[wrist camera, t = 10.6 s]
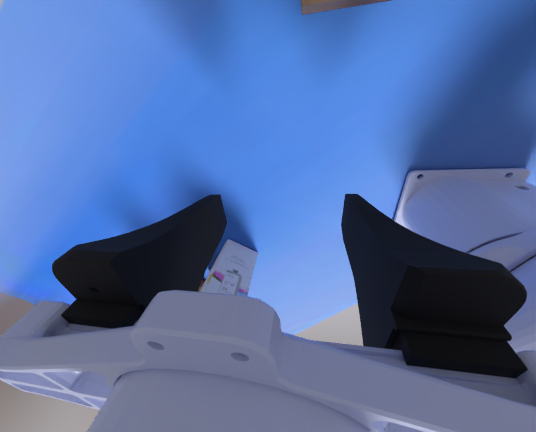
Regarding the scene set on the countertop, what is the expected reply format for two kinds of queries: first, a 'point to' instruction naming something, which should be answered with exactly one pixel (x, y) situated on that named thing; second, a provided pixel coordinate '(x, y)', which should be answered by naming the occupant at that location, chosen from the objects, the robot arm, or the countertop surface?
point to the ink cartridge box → (231, 270)
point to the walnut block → (332, 4)
